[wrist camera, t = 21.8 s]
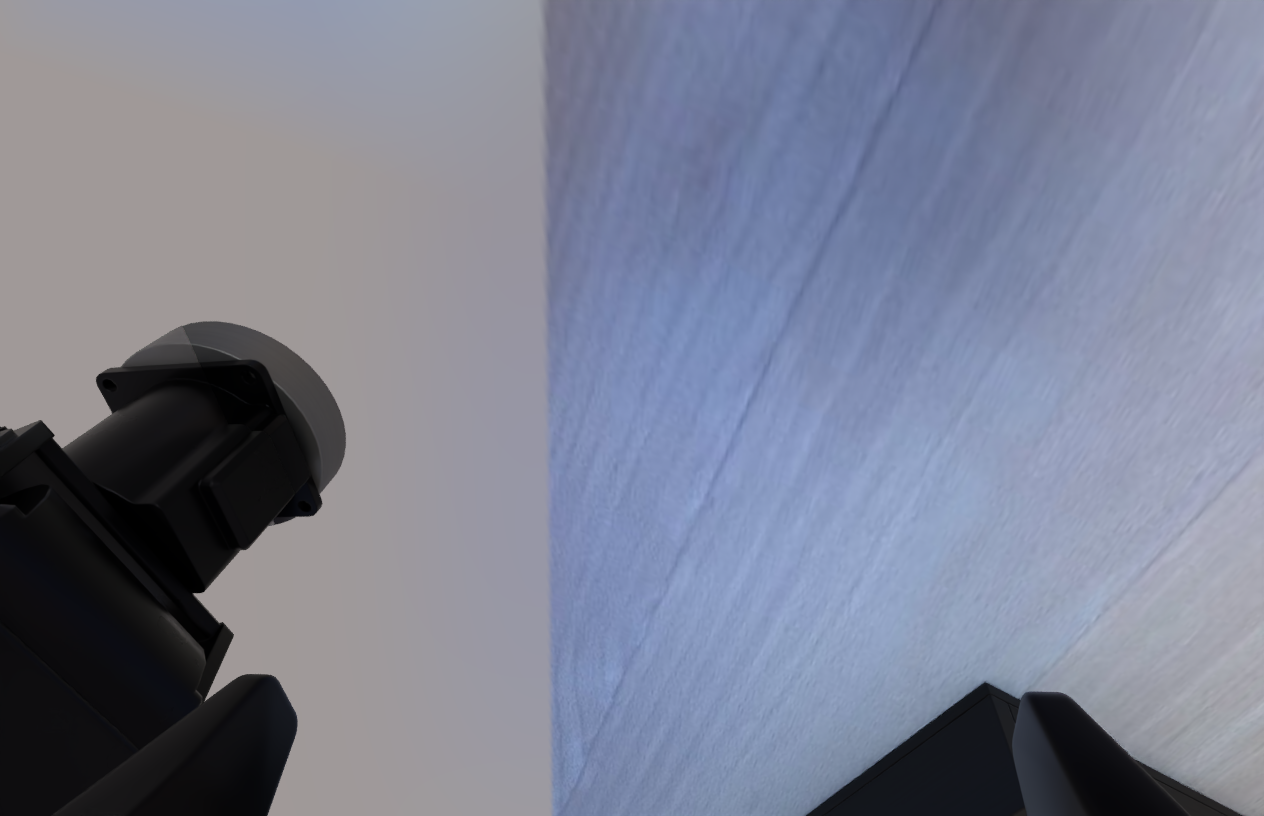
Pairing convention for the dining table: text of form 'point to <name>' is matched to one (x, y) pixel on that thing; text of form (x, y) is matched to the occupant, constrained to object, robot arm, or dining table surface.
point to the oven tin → (965, 769)
